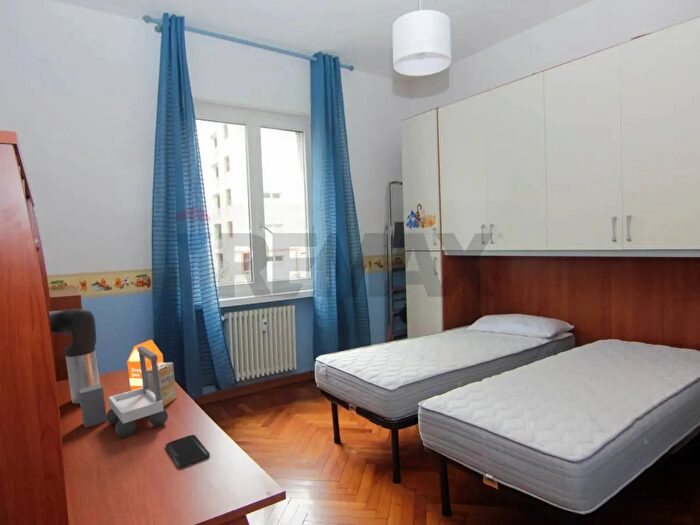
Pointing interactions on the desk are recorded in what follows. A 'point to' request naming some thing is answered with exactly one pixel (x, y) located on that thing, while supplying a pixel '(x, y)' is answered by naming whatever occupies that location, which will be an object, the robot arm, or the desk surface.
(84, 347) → the robot arm
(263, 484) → the desk surface
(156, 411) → the trolley
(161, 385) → the supplement box
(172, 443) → the phone
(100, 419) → the block
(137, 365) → the orange juice
